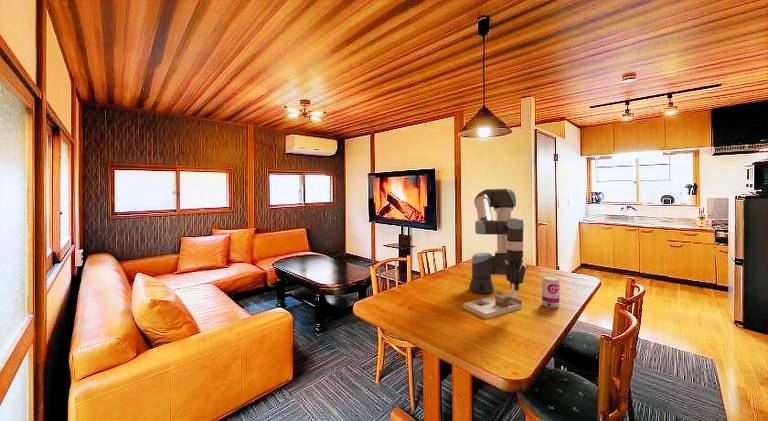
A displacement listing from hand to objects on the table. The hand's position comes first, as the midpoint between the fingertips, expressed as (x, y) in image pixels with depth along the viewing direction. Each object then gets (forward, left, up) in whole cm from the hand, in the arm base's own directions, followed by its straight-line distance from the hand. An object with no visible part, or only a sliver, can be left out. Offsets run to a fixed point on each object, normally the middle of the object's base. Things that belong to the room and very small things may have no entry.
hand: (514, 296), depth 151 cm
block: (-8, +1, -8) cm, 11 cm away
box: (-12, -2, -10) cm, 16 cm away
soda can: (+1, +27, -10) cm, 29 cm away
